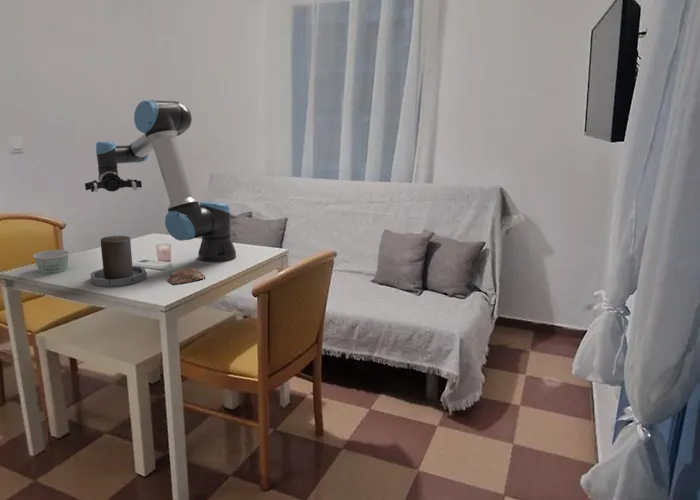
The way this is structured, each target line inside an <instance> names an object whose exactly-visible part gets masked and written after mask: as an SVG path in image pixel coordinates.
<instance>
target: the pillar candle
mask: <svg viewBox="0 0 700 500" xmlns="http://www.w3.org/2000/svg"><path fill="white" fill-rule="evenodd" d="M100 250H101V259H102V268H103V271H104V278H106V279H111V280H112V279H120V278H128V277H131V276H132V275H133V267H132V266H133V257H132V245H131V237H130V236H127V235H115V234H114V235H110V236H104V237H102V238H100Z"/></svg>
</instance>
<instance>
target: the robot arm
mask: <svg viewBox="0 0 700 500" xmlns="http://www.w3.org/2000/svg"><path fill="white" fill-rule="evenodd" d="M133 119H134V121H133V122H134V125H135V127H136V129H137V131H139V132H140V133H141V134H142V133H143V134H142V135H141V136H140V137H138V138H137V139H135V141H133V142H131V143H130V144H129V145H116V143H115V142H114V141H98V142H96V144H95V153H96V159H97V171H98V177H97V178H98V180H97V179H96V180H95V179H93V180H92V181H89V182H85V183H84V187H85V189H84V190H86V191H89V190H90V191H91V192H92V193H94V192H95V193H99V192H98V190H100V189H103V190H106V191H107V192H116V191H119V190H120V189H123V188H124V189H125V188H132V190H133V191H137V190H138V189H137V188H143V186H142V184H143V183H142V181H141V180H137V179H130V178H127V179H126V180H125V179H123V178H121V177H120V175H119V171H118V165H119V164H129V163H130V164H132V163H134V164H135V163H141V162H145V161H147V159H148V158H149V154H151V153H152V152H154V154H155V157H156V160H157V163H158V166H159V167H158V168H159V170H160V175H161V177H162V180H163V184H164V186H165V190H166V194H167V197H168V200H169V206H168V207H167V211H168V213H167V214H165V218H164V219H165V220H164V226H165V228H166V231H167V232H168V234H169V235H170V236H171V237H172V238H173V239H175V240H177V241H182V242H183V241H190V240H193V239H197V238H201V242H200V246H199V249H198V253H197V255H198V260H200V261H203V262H206V263H207V262H209V263H219V262H229V261H232V260H234V259H236V258H237V251H236V248H235V245H234V243H233V240H232V233H231V230H232V229H231V211H230V209H231V208H230V205H229V204H228V203H224V202H217V201H216V202H215V201H201V202H199V201H198V200H197V199H195V198H194V196H193V194H192V190H191V188H190V185H189V180H188V176H187V175H186V171H185V167H184V163H183V160H182V157H181V154H180V153H181V152H180V150H179V148H178V147H179V146H178V143H177V140H176V137H177V136H181V135H182V134H184V133H185V132H186V131H187V130H189V128H190V127H191V124H192V120H193V117H192V114H191V111H190V109H189V108H188V107H187V105H185V104H184V103H182V102H179V101H174V100H155V99H151V100H149V99H148V100H142V101H140V102H139V103H138V104H137V105H136V108H135V110H134V115H133Z"/></svg>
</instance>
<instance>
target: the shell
mask: <svg viewBox="0 0 700 500" xmlns="http://www.w3.org/2000/svg"><path fill="white" fill-rule="evenodd" d="M203 279H204V280H206V275H204V273H203V272H202V271H199V270H198V269H197V268H193V267H184V268H181V269H177V270H175V271H172V272H171V274H170V275H169V276H168V277H167V282H168V283H169V284H172V285H183V284H190V283H191V284H192V283H194V282H200V280H201V281H203Z"/></svg>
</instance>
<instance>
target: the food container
mask: <svg viewBox="0 0 700 500" xmlns="http://www.w3.org/2000/svg"><path fill="white" fill-rule="evenodd" d="M70 254H71V252H70V251H69V250H65V249H52V250H44V251H39V252H36V253H34V254H33V255H32V258H34V260H35V263H36V266H37V270H38V272H39V273H40V274H42V275H54V274H60V273H61V274H62V273H64V272H66V271H68V269H69V256H70Z"/></svg>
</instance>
